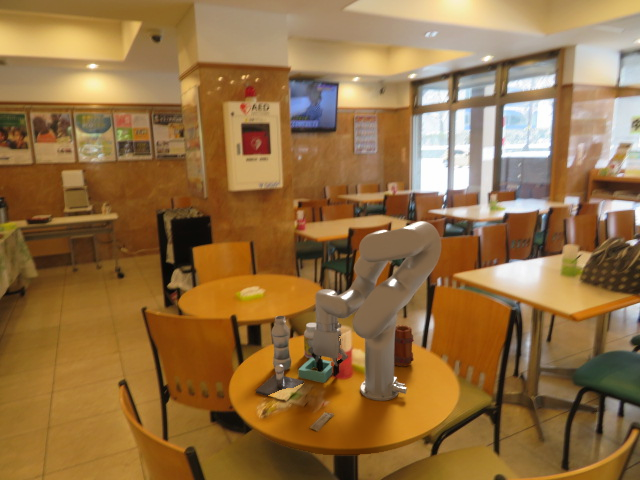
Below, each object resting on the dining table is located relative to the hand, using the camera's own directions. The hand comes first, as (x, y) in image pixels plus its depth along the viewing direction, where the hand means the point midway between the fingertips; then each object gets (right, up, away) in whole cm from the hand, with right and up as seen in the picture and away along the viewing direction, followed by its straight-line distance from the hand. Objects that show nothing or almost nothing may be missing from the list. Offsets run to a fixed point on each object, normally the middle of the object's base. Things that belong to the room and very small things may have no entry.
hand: (328, 372), depth 155 cm
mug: (+26, +1, +10) cm, 27 cm away
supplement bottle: (-6, +2, +16) cm, 17 cm away
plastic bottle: (-17, -1, +6) cm, 18 cm away
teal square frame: (-4, -1, +2) cm, 4 cm away
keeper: (-16, -3, -7) cm, 18 cm away
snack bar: (-2, -7, -26) cm, 27 cm away
